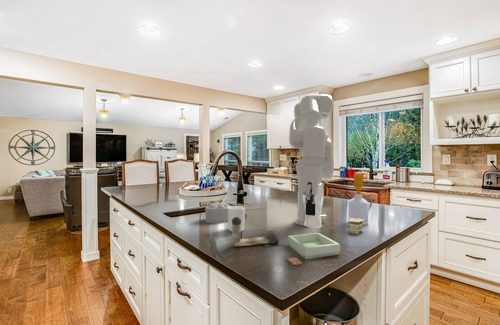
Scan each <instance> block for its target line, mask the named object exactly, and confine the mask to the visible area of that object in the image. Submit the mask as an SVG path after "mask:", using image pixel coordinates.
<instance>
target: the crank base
mask: <svg viewBox="0 0 500 325" xmlns="http://www.w3.org/2000/svg"><path fill="white" fill-rule="evenodd" d="M262 245H263V246H264V247H265V248H271V247H279V246H281V247H282V246H286V245H287V244H286V243H285V242H284V241H282V240H281V239H280V238H279V242H278V243H264V244H262ZM286 259H287V261H288V262H289V263H290V264H291V265H292V266H299V265H302V264H303V262H302V261H301V260H300V259H299V258H298V257H288V258H286Z"/></svg>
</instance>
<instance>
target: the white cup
mask: <svg viewBox="0 0 500 325" xmlns="http://www.w3.org/2000/svg"><path fill="white" fill-rule="evenodd" d="M227 209H228V222H227V223H228V231H230V232H232V219H233V218H234V217H239V218H240V219H241V232H242V231H244V230H245V218H246V216H245V215H246V206H243V205H229V207H228V208H227Z"/></svg>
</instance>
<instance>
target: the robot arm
mask: <svg viewBox="0 0 500 325" xmlns="http://www.w3.org/2000/svg"><path fill="white" fill-rule="evenodd" d="M334 106H335V105H334V99H333V97H332V96H331V95H330V94H308V95H305V96H304V97H302V98H301V100H300V102H298V103H296V104H295V105H294V108H293V114H294V119H293V120H292V121H291V123H290V126H289V135H288V136H289V138H288V139H289V144H290V147H292V148H294V149H298V150H299V154H300V155H301V156H302V158H301V159H299V160H298V161H297V162H296V166H295V167H296V168H295V170H296V176H297V218H295V219H294V224H295V225H298V226H302V227H303V226H304V222H305V208H304V201H303V195H305V194H304V193H306V215H312V216H315V204H314V203H315V196H316V195H317V192H318V186H319V184H321V183H323V179H331V178H332V177H333V176H334V173H335V172H334V170H335V168H334V167H335V166H334V165H335V163H334V146H333V142H332V140H331V139H330V138H329V135H328V133H327V131H326V129H325V128H324V127H322V126H317V125H318V124H319V123H320V122H321V120H324V119H325V120H326V119H329V117H330V116H331V114H332V113H333V109H334ZM311 189H312V190H313V192H314V193H313V194H311ZM311 196H313V199H312V197H311ZM323 219H324V220H325V219H327V215H326V214H321V220H323ZM304 227H305V226H304Z"/></svg>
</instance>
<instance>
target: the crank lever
mask: <svg viewBox="0 0 500 325" xmlns="http://www.w3.org/2000/svg"><path fill="white" fill-rule="evenodd" d="M231 232H232V240H231V242H232V245H233V246H234V247H244V246H245V247H246V246H252V245H263V244H264V243H278V242H279V239H280V238H279V232H278V231H275V230H268V231H266V232H265V236H259V237H249V238H248V237H247V238H242V236H241V235H242V234H241V232H242V231H241V219H240V218H239V217H234V218H233V219H232V231H231Z"/></svg>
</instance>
